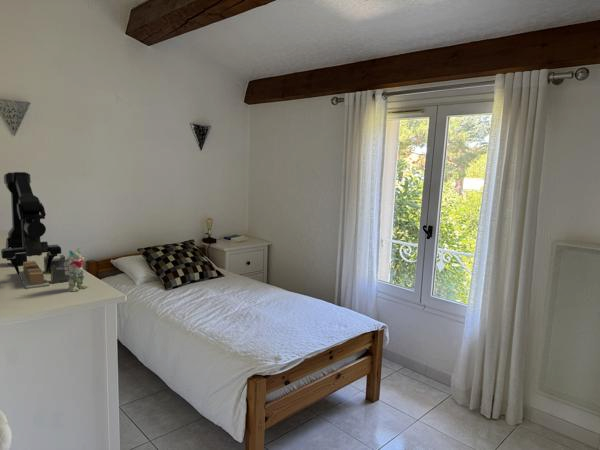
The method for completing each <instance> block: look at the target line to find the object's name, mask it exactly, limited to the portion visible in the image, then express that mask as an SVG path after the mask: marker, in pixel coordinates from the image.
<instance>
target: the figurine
mask: <svg viewBox="0 0 600 450" xmlns="http://www.w3.org/2000/svg"><path fill="white" fill-rule="evenodd" d="M84 261H85V255H83V254H81V251H80V247H78V248H77V249H76V250H75V251H72V250H71V249H68V257H67V258H65V263H64V264H63V265H62V267H63V268H64V270H65V275H69V276H70V277H69V279H70V280H69V281H68V288H67V291H68V292H72V293H74V292H78V291H80V289H83V290H84V289H87V288H89V286H88V285H86V284H84V282H83V280H84V278H85V276H84V268H83V263H84Z"/></svg>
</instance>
